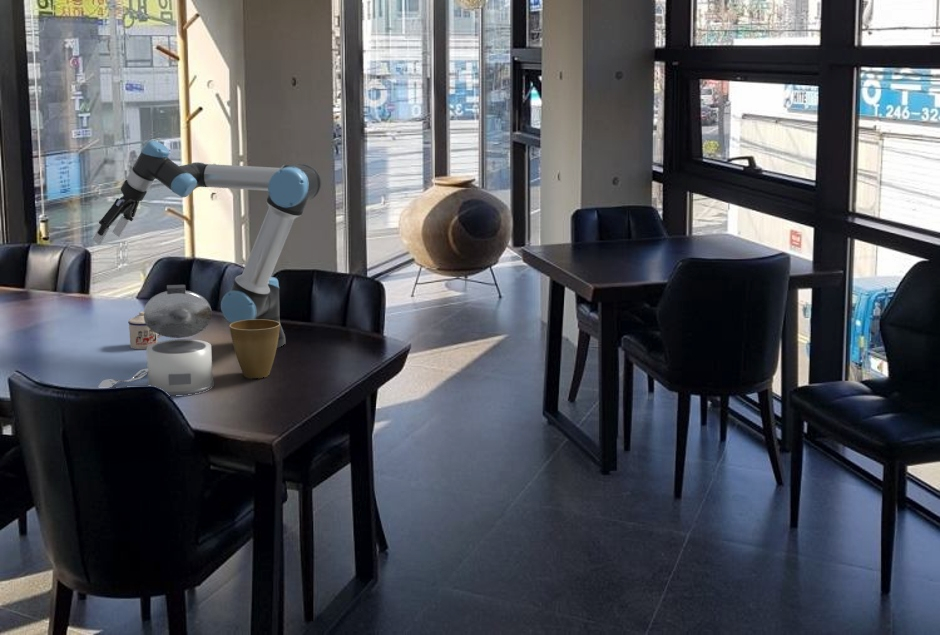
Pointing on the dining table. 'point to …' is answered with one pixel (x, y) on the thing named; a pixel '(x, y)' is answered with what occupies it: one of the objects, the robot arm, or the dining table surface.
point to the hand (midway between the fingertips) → (106, 238)
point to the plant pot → (255, 345)
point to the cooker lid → (177, 312)
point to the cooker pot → (180, 366)
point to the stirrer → (112, 382)
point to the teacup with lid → (141, 333)
